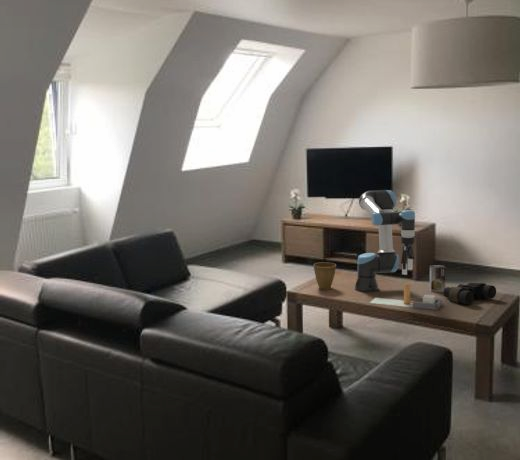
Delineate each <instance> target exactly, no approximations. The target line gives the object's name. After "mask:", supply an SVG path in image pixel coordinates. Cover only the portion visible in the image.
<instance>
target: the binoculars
mask: <svg viewBox="0 0 520 460" xmlns="http://www.w3.org/2000/svg"><path fill="white" fill-rule="evenodd" d="M496 295H497V288H496V287H495V286H494V285H492V284H486V283H485V282H468V283H467V284H462V283H460V284H458V285H457V286H452V287H449V286H447V287H446V286H445V289H444V292H443V296H444V297H445V298H447V299H448V300H449V301H450V302H453V303H456V304H460V305H463V304H464V305H471V304H473V302H474V301H475V299H476V300H480V299H481V300H484V299H494V298H495V297H496Z"/></svg>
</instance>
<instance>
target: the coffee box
mask: <svg viewBox="0 0 520 460" xmlns="http://www.w3.org/2000/svg"><path fill="white" fill-rule="evenodd" d="M445 288H446V266H445V265H443V264H438V265H436V264H435V265H434V264H433V265H429V288H428V289H429V291H430V292H431V293H435V292H436V293H437V292H440V293H442V292H444V289H445Z"/></svg>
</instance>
